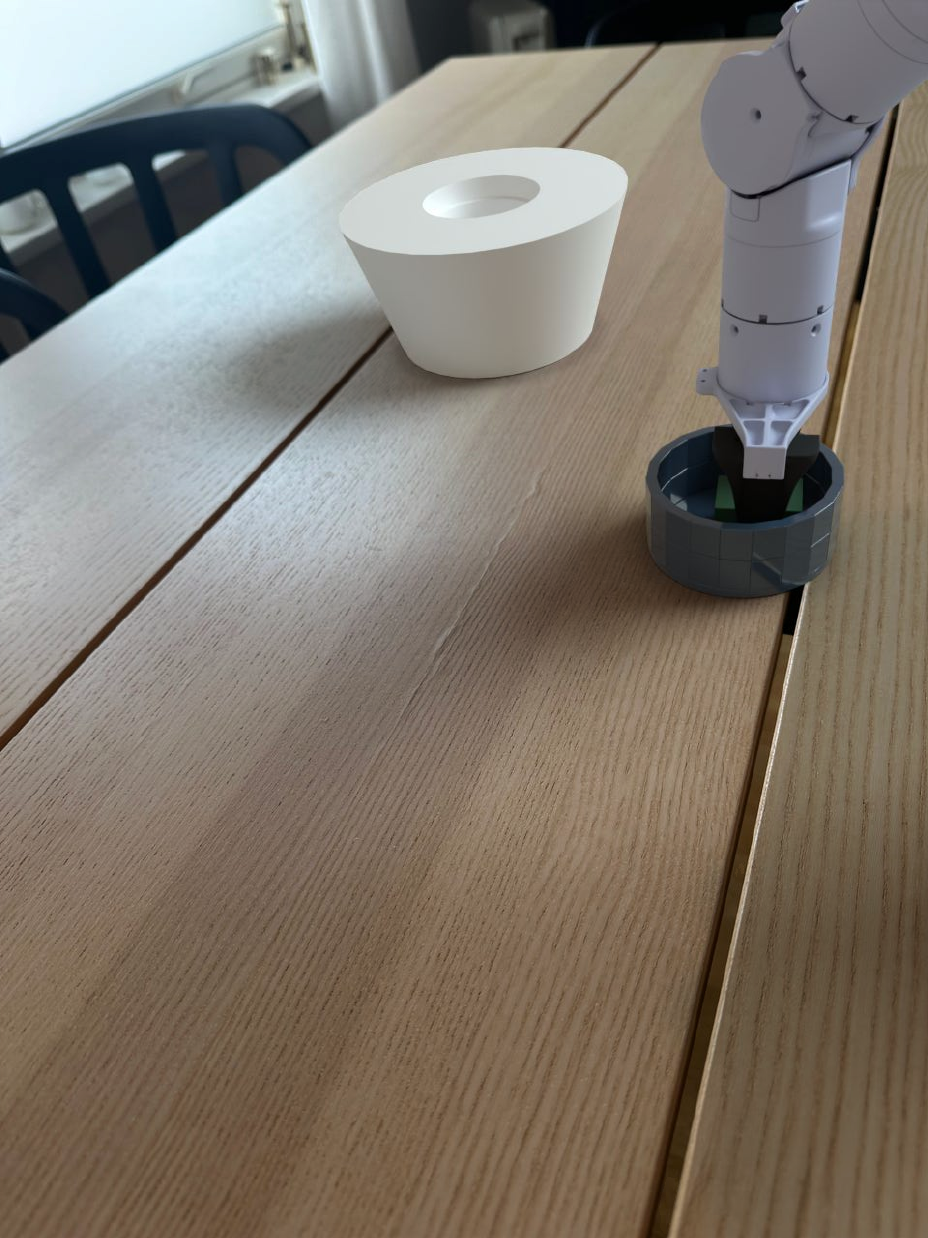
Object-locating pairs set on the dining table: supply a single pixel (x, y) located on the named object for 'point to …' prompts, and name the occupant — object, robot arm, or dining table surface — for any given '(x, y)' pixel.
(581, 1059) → the dining table surface
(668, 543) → the basin
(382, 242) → the white tapered cylinder
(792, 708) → the dining table surface
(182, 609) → the dining table surface
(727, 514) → the green rectangular block
